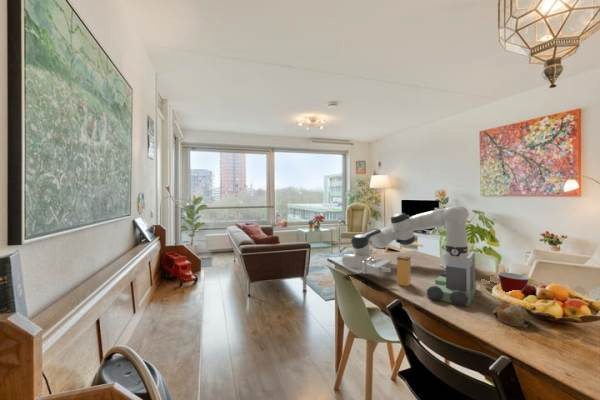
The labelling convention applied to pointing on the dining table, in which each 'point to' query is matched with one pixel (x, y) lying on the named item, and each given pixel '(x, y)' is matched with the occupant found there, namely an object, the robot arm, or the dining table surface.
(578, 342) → the dining table surface
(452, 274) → the green wheeled cart
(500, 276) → the plastic cup
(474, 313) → the dining table surface
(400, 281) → the orange tall cylinder
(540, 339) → the dining table surface
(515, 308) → the grey brown rounded lump
